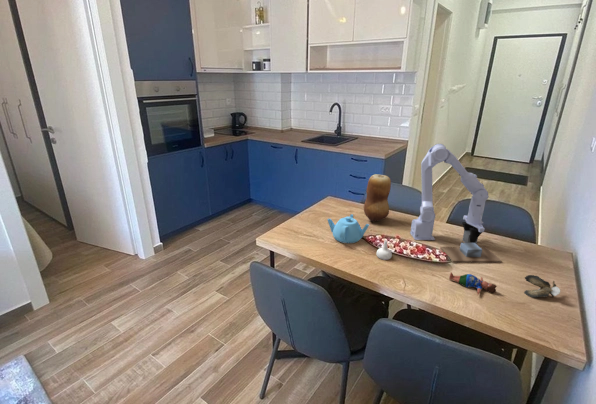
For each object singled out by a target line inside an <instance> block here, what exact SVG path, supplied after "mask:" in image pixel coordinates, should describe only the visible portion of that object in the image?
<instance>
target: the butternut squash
mask: <svg viewBox="0 0 596 404" xmlns="http://www.w3.org/2000/svg"><path fill="white" fill-rule="evenodd" d="M391 185H392V179H391V178H390V177H389V176H388V175H385V174H376V173H375V174H373V175H371V176H370V177H369V178H368V181H367V186H366V190H365V192H366V197H365V201H364V204H363V212H364V215H365V216H366V217H367V219H368V220H370V221H371V222H379V221H382V220H385V219H386V218H387V217H388V216H389V214H390V205H389V199H388V198H389V195H390V193H391Z"/></svg>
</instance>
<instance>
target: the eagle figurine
mask: <svg viewBox="0 0 596 404" xmlns="http://www.w3.org/2000/svg"><path fill="white" fill-rule="evenodd" d="M524 279H525V281H526V282H528V283H530V284H532V285H533V286H536V287H539V288H538V289H531V290H530V289H526V290H524V292H523V293H524V294H525V295H526V296H528V297H530V298H542V297H543V298H546V297H549V295H551V298H554V297H556V296H558V295H560V293H561V289H560V287H558V286H557V285H556V283H555V282H556V281H555V280H553V281H552V285H551V283H550V282H549V281H547V280H544V279H543V278H542V277H540V276H538V275H534V274H528V275H526V276H524Z"/></svg>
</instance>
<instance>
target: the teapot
mask: <svg viewBox="0 0 596 404" xmlns="http://www.w3.org/2000/svg"><path fill="white" fill-rule="evenodd" d="M327 223H328V225H329V228H330V231H331V233H332V236H333V238H334V239H335V240H336V241H337V242H339V243H343V244H355V243H357V242H359V241H360V240H361V239H362V238H363V237H364V234H366V231H367V230H368V228H369V227H370V224H369V223H366V224H365V225H364V227H363V228H362V227H361V225H360V224H359V222H358V220H357V219H355V218H354V214H349V216H348V215H347V216H345V217H341V218H339V220H338V221H337V222H336V224H335V222H334V221H333V219H332V218H327Z"/></svg>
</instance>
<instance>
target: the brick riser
mask: <svg viewBox="0 0 596 404" xmlns="http://www.w3.org/2000/svg"><path fill="white" fill-rule="evenodd" d="M439 249H440V250H441V252H442V253H444V252H445V253H446V254H447V255H448V256H449V257H450V259H451V261H452V262H451V261H450V262H451V263H453V264H457V263H458V264H469V263H470V264H477V263H478V264H480V263H481V264H486V263H487V264H491V263H494V264H500V263H501V264H502V262H503V261H502V259H500V258H499V256H497V255H496V254H495V253H494V252H493V251H491V250H490V249H489V248H488V247H486V246H479V245H478V243H477V244H476V243H465V242H461V243H460V246H440V248H439ZM450 259H449V260H450Z"/></svg>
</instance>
